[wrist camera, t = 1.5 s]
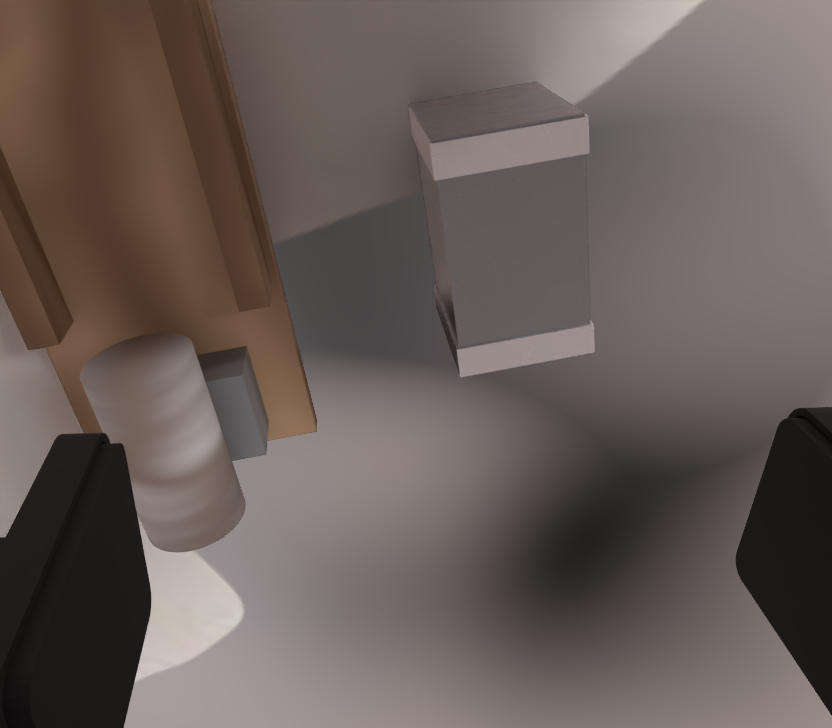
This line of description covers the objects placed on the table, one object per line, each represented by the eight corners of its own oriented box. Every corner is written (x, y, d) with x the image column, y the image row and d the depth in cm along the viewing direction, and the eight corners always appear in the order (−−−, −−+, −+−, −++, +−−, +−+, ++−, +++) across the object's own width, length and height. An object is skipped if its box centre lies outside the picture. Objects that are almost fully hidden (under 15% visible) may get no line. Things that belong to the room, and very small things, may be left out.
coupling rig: (115, -375, 22) (32, -507, 15) (316, 419, 36) (318, 526, 29) (-237, -322, 21) (-474, -434, 15) (106, 459, 35) (60, 575, 29)
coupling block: (538, 81, 29) (588, 113, 24) (550, 289, 34) (594, 354, 29) (407, 104, 29) (429, 140, 24) (437, 310, 34) (460, 379, 29)
